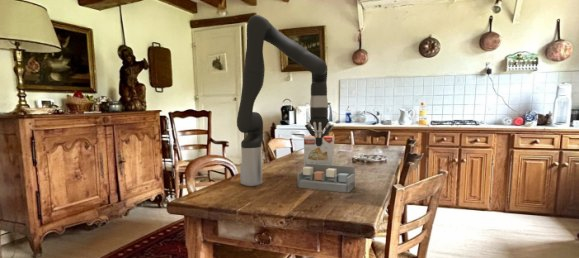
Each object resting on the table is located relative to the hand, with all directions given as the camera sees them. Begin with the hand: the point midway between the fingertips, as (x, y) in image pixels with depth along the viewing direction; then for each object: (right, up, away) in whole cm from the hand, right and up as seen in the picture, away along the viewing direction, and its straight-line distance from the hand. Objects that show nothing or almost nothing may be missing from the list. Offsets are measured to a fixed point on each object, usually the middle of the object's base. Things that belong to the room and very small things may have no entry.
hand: (319, 146), depth 143 cm
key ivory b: (+5, -13, -2) cm, 14 cm away
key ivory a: (-5, -13, +3) cm, 14 cm away
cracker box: (+2, -17, +17) cm, 24 cm away
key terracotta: (0, -15, +1) cm, 15 cm away
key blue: (+10, -15, -4) cm, 18 cm away
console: (+3, -18, 0) cm, 18 cm away
